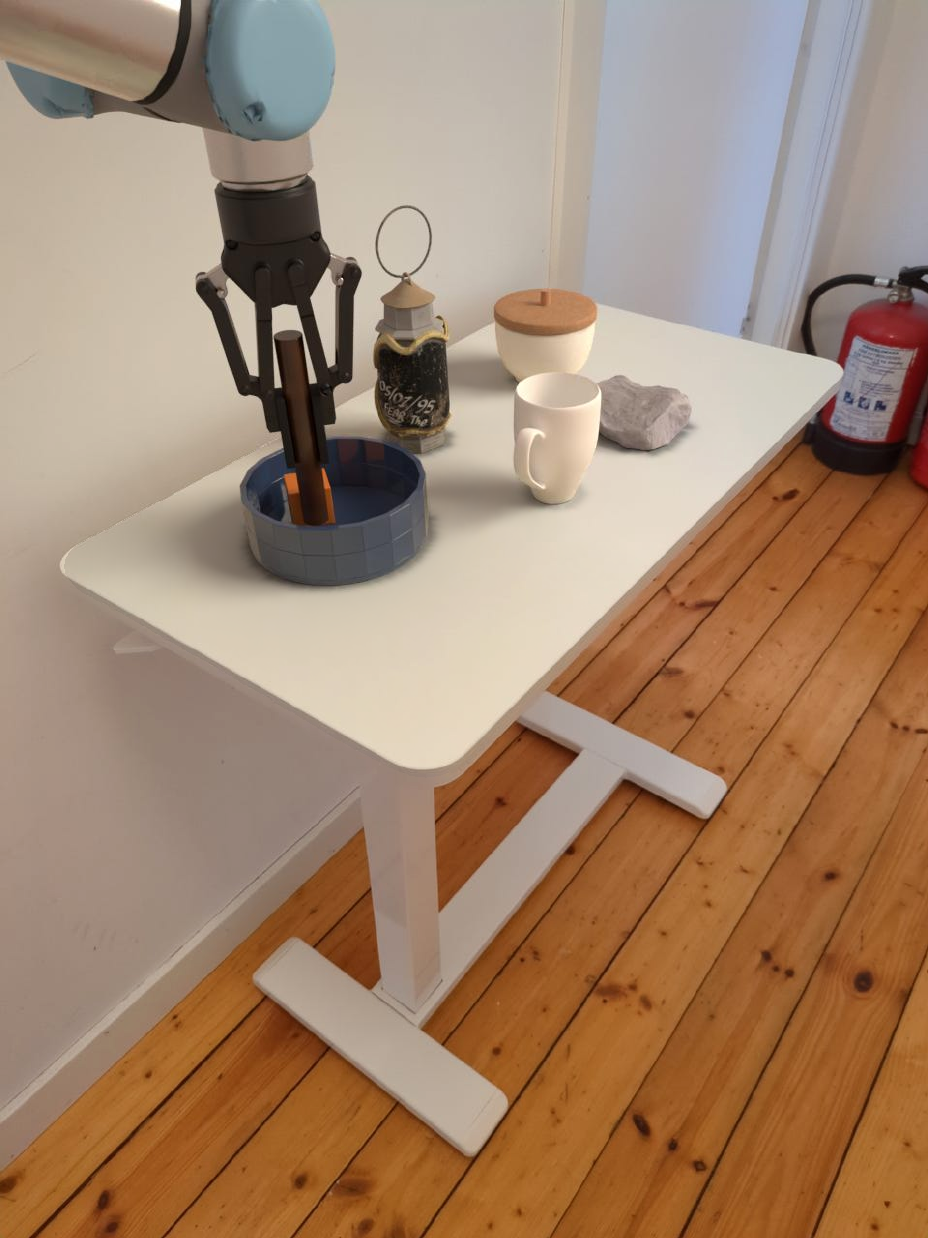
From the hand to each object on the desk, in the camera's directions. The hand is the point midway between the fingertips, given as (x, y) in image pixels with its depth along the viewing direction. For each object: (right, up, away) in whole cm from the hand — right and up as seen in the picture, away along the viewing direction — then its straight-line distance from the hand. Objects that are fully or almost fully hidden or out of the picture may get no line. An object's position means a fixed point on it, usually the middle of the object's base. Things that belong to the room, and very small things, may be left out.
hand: (306, 458), depth 81 cm
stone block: (+33, +7, +22) cm, 40 cm away
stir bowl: (+2, -6, +6) cm, 9 cm away
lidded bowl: (+24, +16, +33) cm, 44 cm away
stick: (0, -5, +4) cm, 6 cm away
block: (-1, -4, +7) cm, 9 cm away
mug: (+23, -3, +10) cm, 25 cm away
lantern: (+9, +6, +21) cm, 23 cm away
